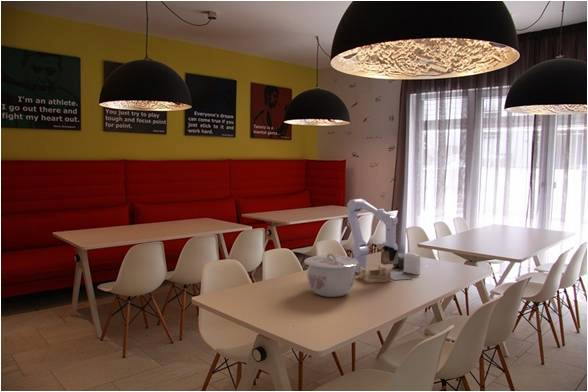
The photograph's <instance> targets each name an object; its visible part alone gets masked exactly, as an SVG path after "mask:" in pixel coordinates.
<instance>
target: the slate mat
mask: <svg viewBox="0 0 588 392" xmlns="http://www.w3.org/2000/svg"><path fill="white" fill-rule="evenodd" d="M407 279H408V280H412V277H409V276H407V275H406V274H403V273H401V272H399V271H397V272H391V277H390V280H391V281H395V280H396V281H404V280H405V281H406V280H407Z"/></svg>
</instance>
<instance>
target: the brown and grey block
mask: <svg viewBox="0 0 588 392" xmlns="http://www.w3.org/2000/svg"><path fill="white" fill-rule="evenodd" d="M398 254H399V250H398V251H397V253H396V255H395V258H394V261H390V256H389V251H384V250H382V251H380V264H382V265H383V266H384V265H393V264H398Z"/></svg>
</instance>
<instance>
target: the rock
mask: <svg viewBox="0 0 588 392" xmlns="http://www.w3.org/2000/svg"><path fill="white" fill-rule="evenodd" d="M405 253H406V252H400V253H398V264H392V266H393V267H396V268H398V267H399V269H401V270H404V255H405Z"/></svg>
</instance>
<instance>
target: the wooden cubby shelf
mask: <svg viewBox="0 0 588 392" xmlns="http://www.w3.org/2000/svg"><path fill="white" fill-rule="evenodd" d="M391 273H392V271H391V270H390V269H388V268H386V267H384V266H382V265H378V267H377V269H369V270H365V269H363V268H361V267H359V273H358V277H359V279H361V280H363V281H365V282H367V283H368V284H375V282H376V283H386V282H387V281H388V282H391V279H390V277H391Z"/></svg>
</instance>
